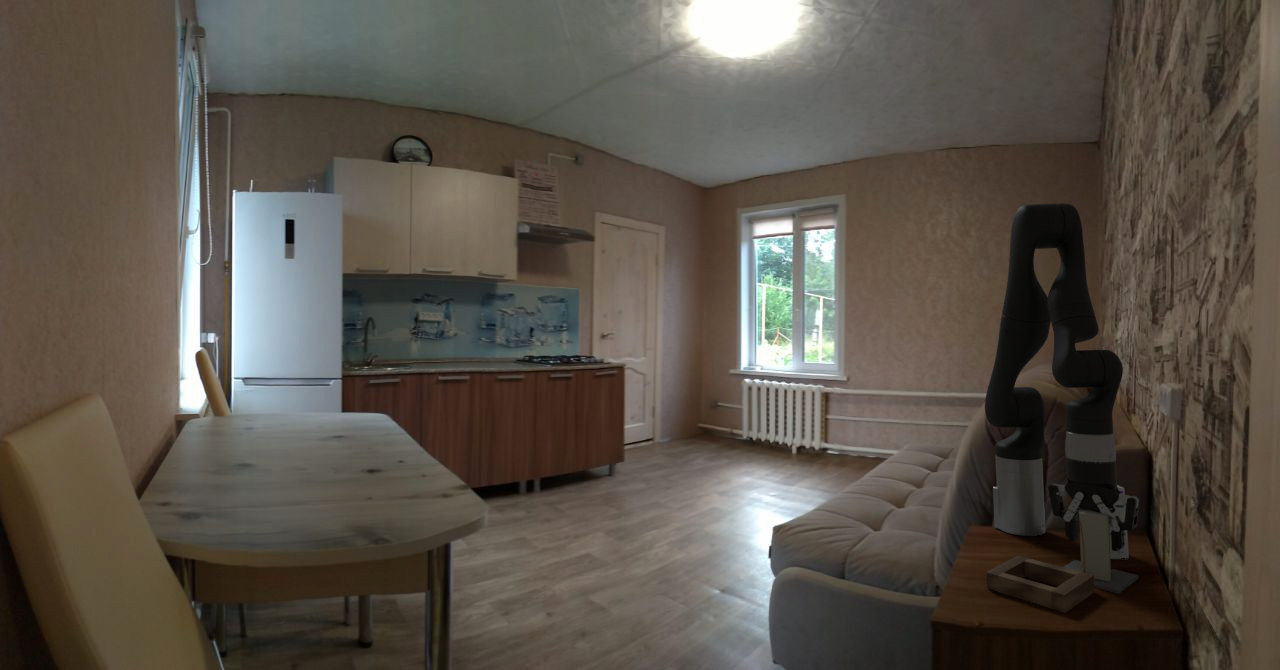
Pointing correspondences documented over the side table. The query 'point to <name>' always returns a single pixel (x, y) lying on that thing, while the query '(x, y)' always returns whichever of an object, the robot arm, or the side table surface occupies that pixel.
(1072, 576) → the walnut collar
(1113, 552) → the syrup box
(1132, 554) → the side table surface
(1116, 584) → the rubber mat
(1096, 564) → the skincare box
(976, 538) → the side table surface
